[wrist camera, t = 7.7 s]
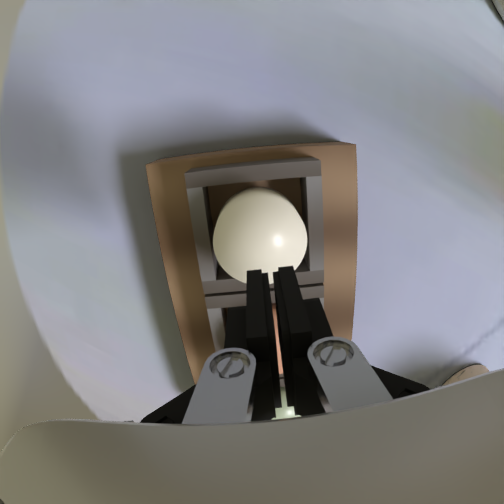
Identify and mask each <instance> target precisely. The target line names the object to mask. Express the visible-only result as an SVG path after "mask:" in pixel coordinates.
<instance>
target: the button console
mask: <svg viewBox="0 0 504 504" xmlns="http://www.w3.org/2000/svg"><path fill="white" fill-rule="evenodd" d="M146 171H147V177H148V183H149V190H150V195H151V201H152V207H153V212H154V218H155V223H156V228H157V234H158V239H159V244H160V248H161V253H162V258H163V263H164V267H165V272H166V276H167V281H168V285H169V289H170V294H171V298H172V302H173V306H174V310H175V314H176V318H177V322H178V326H179V330H180V333H181V337H182V341H183V345H184V348H185V352H186V355H187V359H188V362H189V366H190V369H191V373H192V376H193V380H194V383H195V384H197V382H198V379H199V377H200V374H201V371H202V369H203V366H204V363H205V362H206V360H207V358H208V357H210V356H211V355H212V354H213V353H215V352H217V351H219V350H222V349H224V342H225V332H226V322H227V312H228V308H229V307H237V306H246V283H244V282H241V281H239V280H237V279H235V278H233V277H232V276H230V275H229V274H228V273H227V272H226V271H225V270H224V269H223V268H222V267H221V265H220V264H219V262H218V260H217V258H216V256H215V253H214V248H213V235H214V230H215V227H216V223H217V220H218V216H219V214H220V211H221V209H222V207H223V205H224V204H225V203H226V201H227V200H228V199H229V198H230V197H232V196H233V195H234V194H236V193H237V192H239V191H241V190H243V189H247V188H251V187H267V188H271V189H274V190H276V191H278V192H280V193H282V194H283V195H284V196H286V197H287V198H288V199H289V200H290V201H291V203H292V204H293V206H294V207H295V209H296V211H297V212H298V214H299V216H300V217H301V219H302V221H303V223H304V225H305V228H306V232H307V248H306V252H305V255H304V257H303V260H302V261H301V263H300V265H299V266H298V267H297V268H296V270H295V274H296V277H297V281H298V284H299V287H300V291H301V294H302V298H303V299H310V298H319V299H320V301H321V303H322V306H323V309H324V311H325V314H326V317H327V320H328V322H329V325H330V328H331V330H332V333H333V336H334V337H342V338H346V339H348V340H350V341H351V339H352V328H353V316H354V302H355V286H356V265H357V226H358V196H357V157H356V144H351V143H346V142H319V143H300V144H284V145H271V146H260V147H249V148H239V149H230V150H221V151H213V152H205V153H197V154H190V155H183V156H177V157H170V158H164V159H158V160H156V161H154V162H151V163H149V164H146ZM269 286H270V294H271V302H272V303H275V293H274V283H272V284H269ZM279 378H280V387H285V384H284V376H283V373H282V374H279Z"/></svg>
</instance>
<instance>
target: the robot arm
mask: <svg viewBox="0 0 504 504" xmlns="http://www.w3.org/2000/svg"><path fill="white" fill-rule="evenodd" d="M492 1H493V3H494V5H495V7H496V9H497V11H498V12H499V14H500V16H501V17H502V19H503V21H504V0H492ZM273 282H274V293H275V304H276V315H277V326H278V336H279V345H280V352H281V360H282V368H283V376H284V384H285V392H286V400H287V407H292V406H294V412H295V416H296V415H300V416H301V417H293V418H284V419H275V420H271V419H273V418H276V410H275V408H282V401H281V390H280V378H279V367H278V356H277V345H276V335H275V326H274V318H273V310H272V302H271V294H270V286H269V278H268V272H267V273H262V269H258V270H248V271H247V281H246V306H237V307H229V308H228V312H227V322H226V332H225V342H224V349H222V350H219V351H217V352H215V353H213V354H212V355H211V356H210V357H208V358H207V360H206V362H205V363H204V366H203V369H202V371H201V374H200V377H199V379H198V382H197V384H195V385H194V386H192V387H191V388H189V389H188V390H186V391H185V392H183V393H182V394H180V395H179V396H177V397H176V398H174V399H173V400H171V401H169V402H168V403H166V404H165V405H163V406H162V407H160V408H158V409H157V410H155V411H154V412H152V413H150V414H149V415H147V416H146V417H145V418H143V419H142V420H141V422H140V423H135V422H134V421H133V420H132V421H124V422H119V421H102V420H88V419H57V420H48V421H44V422H38V423H34V424H31V425H28V426H26V427H23V428H22V429H20V430H19V431H17V432H16V433H15V434H14V435H13V436H12V437H11V439H10V440H9V441H8V442H7V444H6V445H5V447H4V448H3V450H2V452H1V453H0V504H504V368H503V369H499V370H495V371H491V372H487V373H484V374H481V375H477V376H474V377H471V378H468V379H465V380H461V381H458V382H455V383H451V384H448V385H443V386H436V388H435V389H432V390H431V389H429V388H428V387H426V386H424V385H422V384H420V383H417V382H414V381H411V380H409V379H406V378H403V377H400V376H398V375H395V374H392V373H390V372H387V371H384V370H382V369H379V368H376V367H374V366H371V365H370V364H369V363H368V361H367V360H366V358H365V357H364V355H363V354H362V352H361V351H360V349H359V348H358V347H357V345H356V344H355V343H354V342H352V341H350V340H348V339H346V338H342V337H334V336H333V333H332V330H331V328H330V325H329V322H328V320H327V317H326V314H325V311H324V309H323V306H322V303H321V301H320V299H319V298H310V299H303V298H302V294H301V291H300V287H299V284H298V281H297V277H296V274H295V271H294V267H293V266H285V267H278V271H276V272H273Z"/></svg>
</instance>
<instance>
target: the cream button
mask: <svg viewBox="0 0 504 504" xmlns="http://www.w3.org/2000/svg"><path fill="white" fill-rule="evenodd" d="M213 248H214V253H215V256H216V258H217V260H218V262H219V264H220V265H221V267H222V268H223V269H224V270H225V271H226V272H227V273H228V274H229V275H230V276H232V277H233V278H235V279H237V280H239V281H241V282H244V283H246V281H247V271H248V270H258V269H262V273H267V272H268V278H269V284H272V283H274V282H273V272H276V271H278V267H285V266H293V267H294V271H295V270H296V268H297V267H298V266H299V265H300V263H301V261H302V260H303V257H304V255H305V252H306V248H307V232H306V228H305V225H304V223H303V221H302V219H301V217H300V216H299V214H298V212H297V211H296V209H295V207H294V206H293V204H292V203H291V201H290V200H289V199H288V198H287V197H286V196H284V195H283V194H282V193H280V192H278V191H276V190H274V189H271V188H267V187H251V188H247V189H243V190H241V191H239V192H237V193H236V194H234V195H233V196H232V197H230V198H229V199H228V200H227V201H226V203H225V204H224V205H223V207H222V209H221V211H220V214H219V216H218V220H217V223H216V227H215V230H214V235H213Z"/></svg>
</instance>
